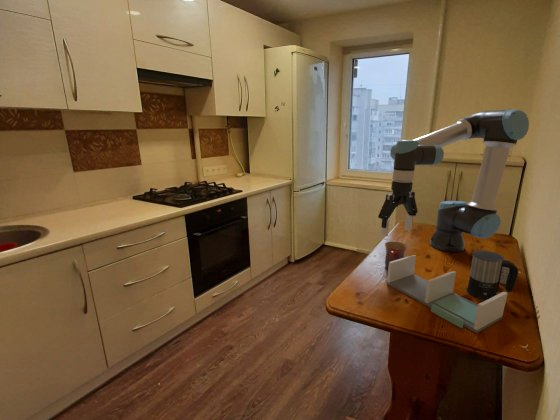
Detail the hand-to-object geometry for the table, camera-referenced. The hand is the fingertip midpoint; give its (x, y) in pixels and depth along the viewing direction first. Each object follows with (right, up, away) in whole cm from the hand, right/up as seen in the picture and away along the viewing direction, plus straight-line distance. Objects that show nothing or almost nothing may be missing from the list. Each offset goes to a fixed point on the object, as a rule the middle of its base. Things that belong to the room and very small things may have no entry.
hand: (396, 232), depth 124 cm
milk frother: (+28, -20, -11) cm, 36 cm away
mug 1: (0, -16, +4) cm, 16 cm away
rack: (+8, -22, -18) cm, 29 cm away
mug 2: (+41, -18, -3) cm, 45 cm away
